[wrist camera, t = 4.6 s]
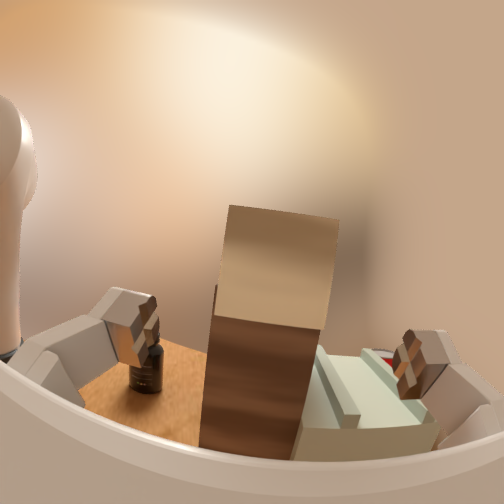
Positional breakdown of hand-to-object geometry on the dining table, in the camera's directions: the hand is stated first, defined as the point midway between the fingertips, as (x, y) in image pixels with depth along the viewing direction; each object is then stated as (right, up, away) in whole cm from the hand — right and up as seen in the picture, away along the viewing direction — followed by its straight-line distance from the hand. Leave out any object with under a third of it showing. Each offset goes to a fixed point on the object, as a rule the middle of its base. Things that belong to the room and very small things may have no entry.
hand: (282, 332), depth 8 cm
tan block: (0, 0, +12) cm, 12 cm away
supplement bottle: (-22, -24, +40) cm, 52 cm away
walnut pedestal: (-3, -26, +17) cm, 31 cm away
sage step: (+6, -27, +15) cm, 32 cm away
